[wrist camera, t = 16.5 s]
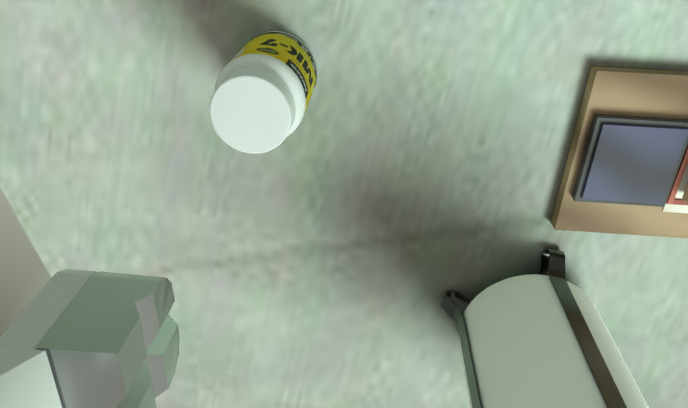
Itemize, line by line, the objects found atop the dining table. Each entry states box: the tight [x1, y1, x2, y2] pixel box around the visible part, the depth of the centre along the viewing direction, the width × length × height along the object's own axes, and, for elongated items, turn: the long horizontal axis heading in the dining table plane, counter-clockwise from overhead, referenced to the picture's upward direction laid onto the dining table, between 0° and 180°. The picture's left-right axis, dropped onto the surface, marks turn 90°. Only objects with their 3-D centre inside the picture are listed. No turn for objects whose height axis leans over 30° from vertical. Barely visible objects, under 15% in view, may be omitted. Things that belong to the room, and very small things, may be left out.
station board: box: [551, 66, 688, 238], centre depth 42 cm, size 13×15×2 cm
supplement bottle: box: [210, 31, 317, 154], centre depth 37 cm, size 6×6×10 cm
